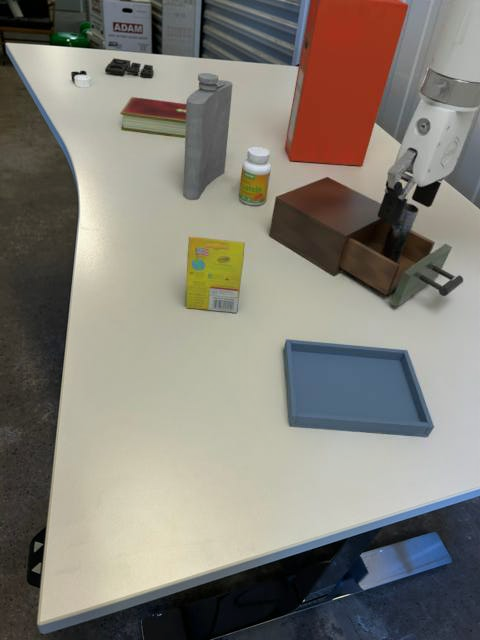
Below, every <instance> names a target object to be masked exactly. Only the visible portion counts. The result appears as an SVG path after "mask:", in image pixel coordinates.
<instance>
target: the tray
mask: <svg viewBox="0 0 480 640" xmlns="http://www.w3.org/2000/svg"><path fill="white" fill-rule="evenodd" d="M283 363H284V376H285V377H284V378H285V386H286V387H285V388H286V402H287V414H288V416H287V417H288V426H289V427H294V428H307V429H317V430H319V429H320V430H331V431H343V432H356V433H357V432H358V433H370V434H382V435H395V436H396V435H397V436H408V437H409V436H410V437H419V438H420V437H423V438H429V436H430V435H431V433H432V431H433V429H434V428H435V425H434V423H433V419H432V417H431V413H430V411H429V408H428V405H427V402H426V400H425V397H424V394H423V391H422V388H421V385H420V383H419V382H420V381H419V379H418V376H417V374H416V370H415V368H414V365H413V362H412V359H411V357H410V354H409V350H408V349H399V348H398V349H397V348H387V347H374V346H367V345H365V346H364V345H354V344H344V343H343V344H342V343H331V342H320V341H309V340H297V339H288V338H287V339H285V342H284V345H283Z"/></svg>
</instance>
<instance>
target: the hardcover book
mask: <svg viewBox="0 0 480 640" xmlns="http://www.w3.org/2000/svg"><path fill="white" fill-rule="evenodd" d="M120 115H122V126H121V127H120V130H121V131H126V132H127V131H128V132H133V133H134V132H135V133H142V134H151V135H159V136H167V137H173V138H182V139H183V138H184V139H185V131H186V103H182V102H175V101H174V102H173V101H166V100H159V99H152V98H143V97H135V96H131V97H130V98H129V99H128V101H127V103H126V104H125V105H124V107H123V108H122V110H121V111H120Z"/></svg>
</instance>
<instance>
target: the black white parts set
mask: <svg viewBox="0 0 480 640" xmlns="http://www.w3.org/2000/svg"><path fill="white" fill-rule="evenodd" d="M140 69H141V70H140ZM104 71H105V73H107V74H108V73H109V74H112V75H113V74H114V75H120V76H123V75H124V74H125V72H126V73H132V74H139V72H140V74H139V75H140V78H145V79H153V77H154V65H151V64H144V65H143V67H142V68H141V63H138V62H131V60H127V59H121V58H116V57H113V58H112V60H111V61H110V62H109V63H108V64H107V66H105V68H104ZM70 75H71V76H70V78H71V81H72V82H74V86H75V87H77V88H81V89H88V88H91V87H92V80H91V79H92V78H91V76H89V75H88V73H87V71H86V70H80V71H71V72H70Z"/></svg>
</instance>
